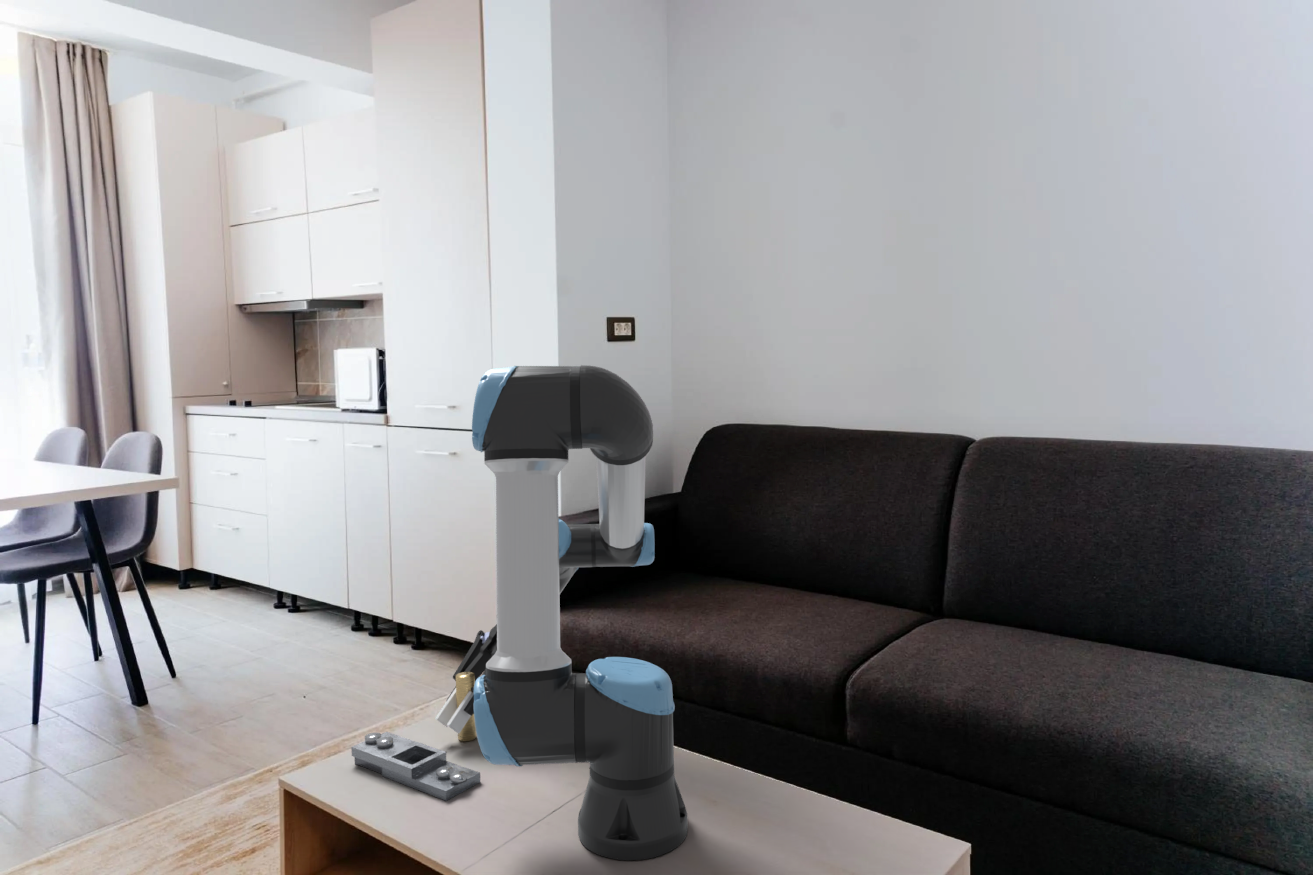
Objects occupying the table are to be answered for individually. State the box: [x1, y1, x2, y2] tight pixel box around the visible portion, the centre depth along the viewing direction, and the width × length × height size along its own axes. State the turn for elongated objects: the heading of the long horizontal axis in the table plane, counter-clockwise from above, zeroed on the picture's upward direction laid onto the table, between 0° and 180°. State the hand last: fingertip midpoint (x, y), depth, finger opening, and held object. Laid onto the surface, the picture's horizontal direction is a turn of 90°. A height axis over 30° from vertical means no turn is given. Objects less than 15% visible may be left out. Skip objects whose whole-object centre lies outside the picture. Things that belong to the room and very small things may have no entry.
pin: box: [455, 672, 477, 742], centre depth 151 cm, size 3×3×11 cm
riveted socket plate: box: [350, 731, 481, 802], centre depth 139 cm, size 23×7×4 cm, turn 56°
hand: (447, 725), depth 149 cm, fingers closed on pin, 3 cm apart
